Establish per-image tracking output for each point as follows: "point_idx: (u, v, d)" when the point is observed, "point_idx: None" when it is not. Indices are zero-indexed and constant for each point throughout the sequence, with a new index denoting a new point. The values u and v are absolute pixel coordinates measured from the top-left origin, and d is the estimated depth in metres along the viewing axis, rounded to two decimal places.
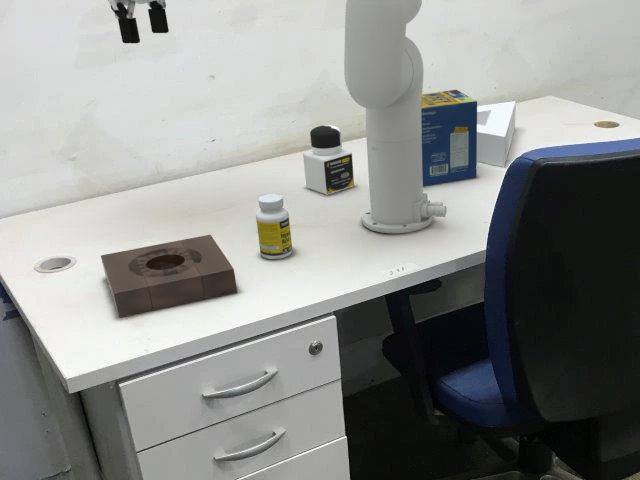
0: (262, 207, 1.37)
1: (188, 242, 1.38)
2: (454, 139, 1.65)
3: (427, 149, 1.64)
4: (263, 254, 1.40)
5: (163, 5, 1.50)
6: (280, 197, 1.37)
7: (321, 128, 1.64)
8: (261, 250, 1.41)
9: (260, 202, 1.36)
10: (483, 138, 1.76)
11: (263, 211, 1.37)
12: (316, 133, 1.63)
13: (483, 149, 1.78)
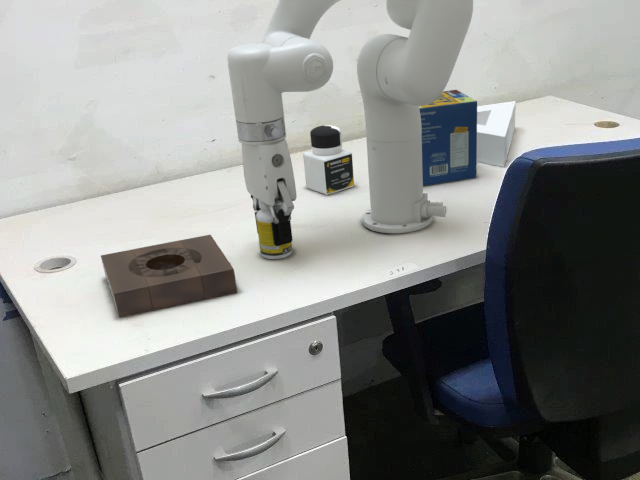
0: (262, 207, 1.37)
1: (188, 242, 1.38)
2: (454, 138, 1.65)
3: (427, 149, 1.64)
4: (263, 254, 1.40)
5: None
6: None
7: (321, 128, 1.64)
8: (261, 250, 1.41)
9: (260, 202, 1.36)
10: (483, 138, 1.76)
11: (263, 211, 1.37)
12: (316, 133, 1.63)
13: (483, 149, 1.78)
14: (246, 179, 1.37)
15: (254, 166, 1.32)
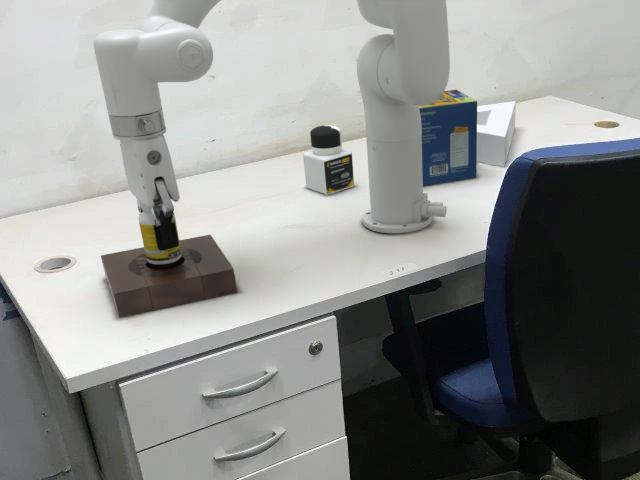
0: (143, 208, 1.25)
1: (188, 242, 1.38)
2: (454, 138, 1.65)
3: (427, 149, 1.64)
4: (148, 259, 1.29)
5: None
6: None
7: (321, 128, 1.64)
8: (146, 255, 1.29)
9: (141, 203, 1.25)
10: (483, 138, 1.76)
11: (145, 212, 1.26)
12: (316, 133, 1.63)
13: (483, 149, 1.78)
14: (127, 178, 1.26)
15: (131, 164, 1.21)
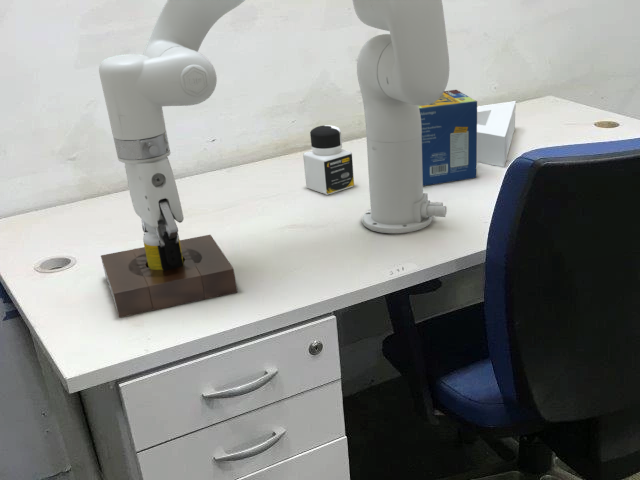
0: (148, 229, 1.27)
1: (188, 242, 1.38)
2: (454, 138, 1.65)
3: (427, 149, 1.64)
4: None
5: None
6: None
7: (321, 128, 1.64)
8: None
9: (146, 224, 1.27)
10: (483, 138, 1.76)
11: (149, 233, 1.28)
12: (316, 133, 1.63)
13: (483, 149, 1.78)
14: (132, 199, 1.28)
15: (135, 186, 1.23)
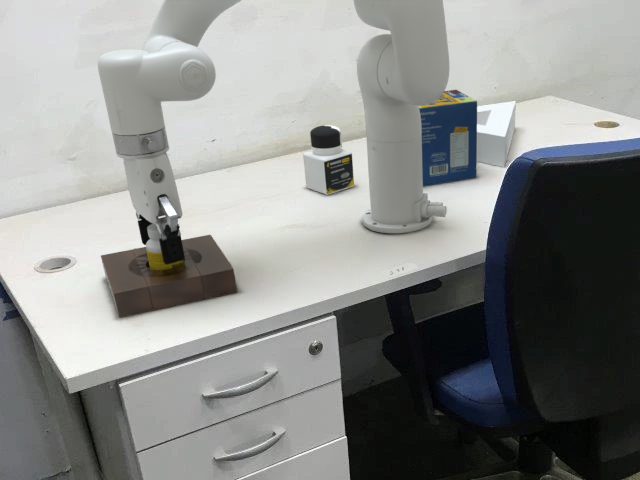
0: (151, 236, 1.28)
1: (188, 242, 1.38)
2: (454, 138, 1.65)
3: (427, 149, 1.64)
4: None
5: None
6: None
7: (321, 128, 1.64)
8: None
9: (148, 231, 1.28)
10: (483, 138, 1.76)
11: (152, 240, 1.28)
12: (316, 133, 1.63)
13: (483, 149, 1.78)
14: (130, 195, 1.28)
15: (134, 181, 1.22)
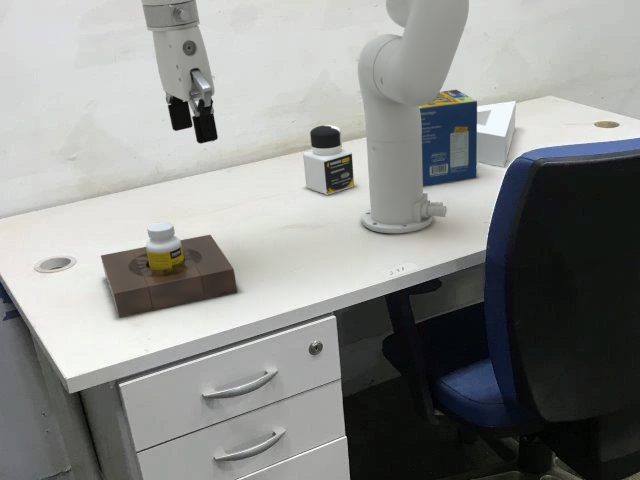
0: (151, 236, 1.28)
1: (188, 242, 1.38)
2: (454, 138, 1.65)
3: (427, 149, 1.64)
4: None
5: None
6: (170, 225, 1.29)
7: (321, 128, 1.64)
8: None
9: (148, 231, 1.28)
10: (483, 138, 1.76)
11: (152, 240, 1.28)
12: (316, 133, 1.63)
13: (483, 149, 1.78)
14: (161, 75, 1.27)
15: (166, 57, 1.21)
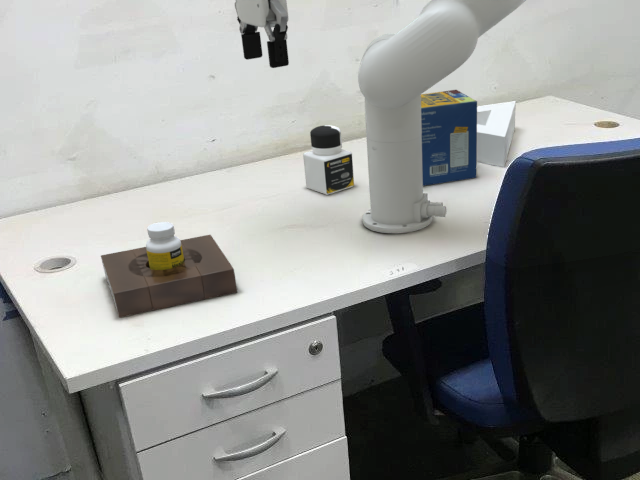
0: (151, 236, 1.28)
1: (188, 242, 1.38)
2: (454, 138, 1.65)
3: (427, 149, 1.64)
4: None
5: None
6: (170, 225, 1.29)
7: (321, 128, 1.64)
8: None
9: (148, 231, 1.28)
10: (483, 138, 1.76)
11: (152, 240, 1.28)
12: (316, 134, 1.63)
13: (483, 149, 1.78)
14: (237, 4, 1.36)
15: None
